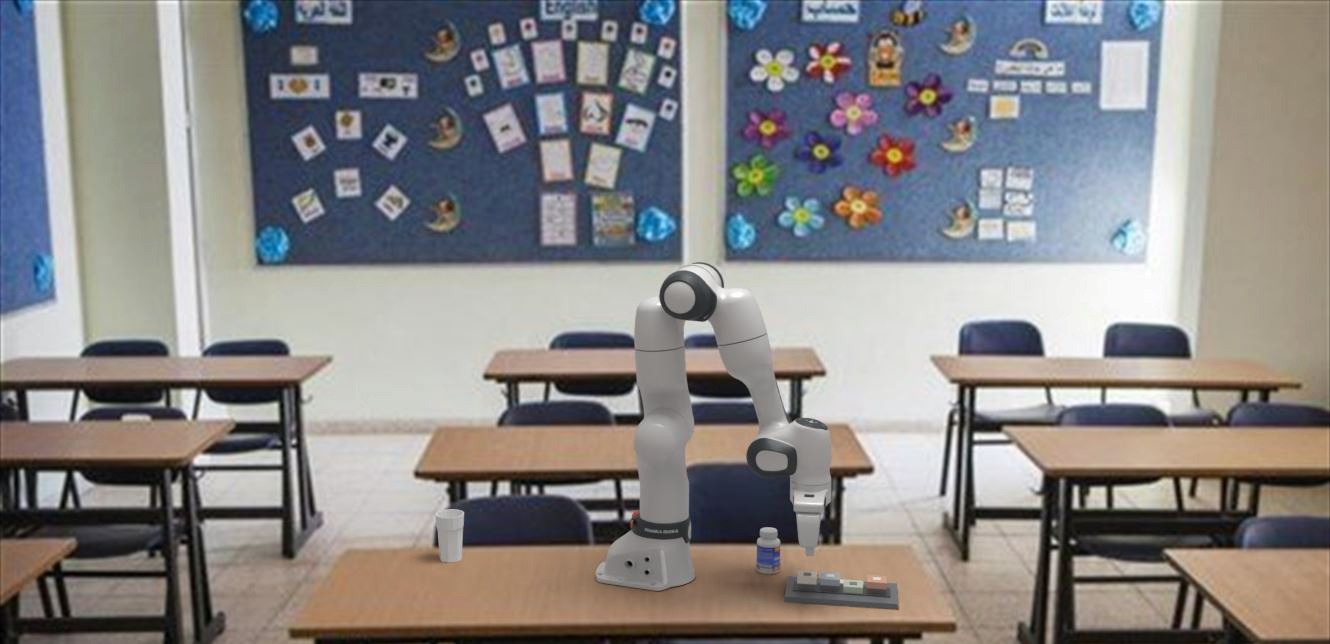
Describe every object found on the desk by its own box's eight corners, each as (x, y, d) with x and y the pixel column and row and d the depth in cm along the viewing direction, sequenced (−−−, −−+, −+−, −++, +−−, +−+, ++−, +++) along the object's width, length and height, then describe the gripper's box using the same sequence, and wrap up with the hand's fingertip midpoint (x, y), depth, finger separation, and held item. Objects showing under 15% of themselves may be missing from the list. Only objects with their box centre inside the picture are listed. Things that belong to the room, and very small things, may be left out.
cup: (462, 563, 289) (461, 518, 287) (434, 563, 289) (432, 518, 288) (467, 553, 296) (466, 509, 294) (439, 553, 296) (438, 509, 294)
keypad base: (784, 601, 268) (784, 594, 268) (788, 581, 280) (788, 574, 280) (897, 609, 264) (897, 602, 264) (896, 588, 276) (896, 582, 276)
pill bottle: (778, 575, 283) (779, 534, 282) (754, 573, 285) (755, 532, 283) (781, 567, 289) (782, 527, 287) (757, 565, 290) (758, 525, 288)
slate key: (820, 584, 270) (820, 578, 270) (820, 577, 275) (821, 571, 274) (839, 586, 270) (839, 579, 270) (840, 579, 274) (840, 572, 274)
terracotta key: (866, 588, 269) (867, 581, 269) (866, 581, 273) (867, 574, 273) (886, 589, 268) (886, 582, 268) (886, 582, 272) (886, 575, 272)
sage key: (843, 592, 270) (843, 586, 270) (843, 585, 274) (843, 579, 274) (862, 593, 269) (863, 587, 269) (862, 586, 273) (863, 580, 273)
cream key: (797, 583, 271) (797, 576, 271) (798, 576, 275) (798, 569, 275) (816, 584, 271) (816, 578, 270) (817, 577, 275) (817, 571, 274)
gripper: (798, 478, 280) (798, 537, 282) (793, 506, 260) (792, 569, 263) (827, 479, 279) (826, 539, 281) (823, 507, 259) (822, 571, 262)
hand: (810, 554), depth 272 cm, fingers closed
